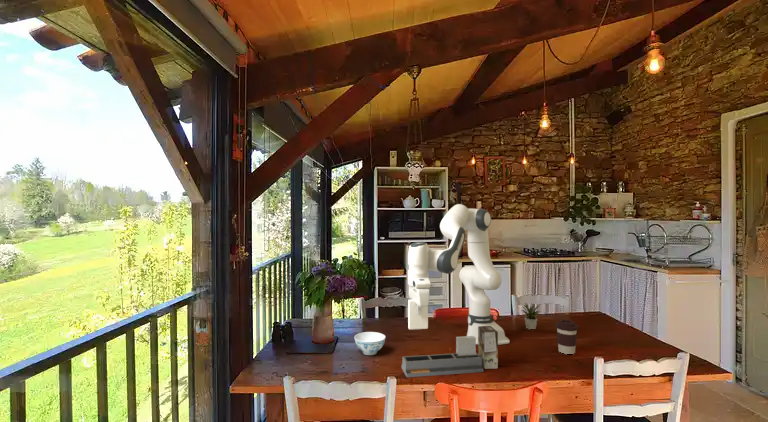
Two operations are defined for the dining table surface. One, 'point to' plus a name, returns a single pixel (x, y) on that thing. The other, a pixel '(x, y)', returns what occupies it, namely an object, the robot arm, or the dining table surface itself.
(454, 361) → the panel rack
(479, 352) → the coffee box
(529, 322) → the house plant
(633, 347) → the dining table surface
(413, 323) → the panel
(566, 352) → the coffee cup
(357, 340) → the chinaware
